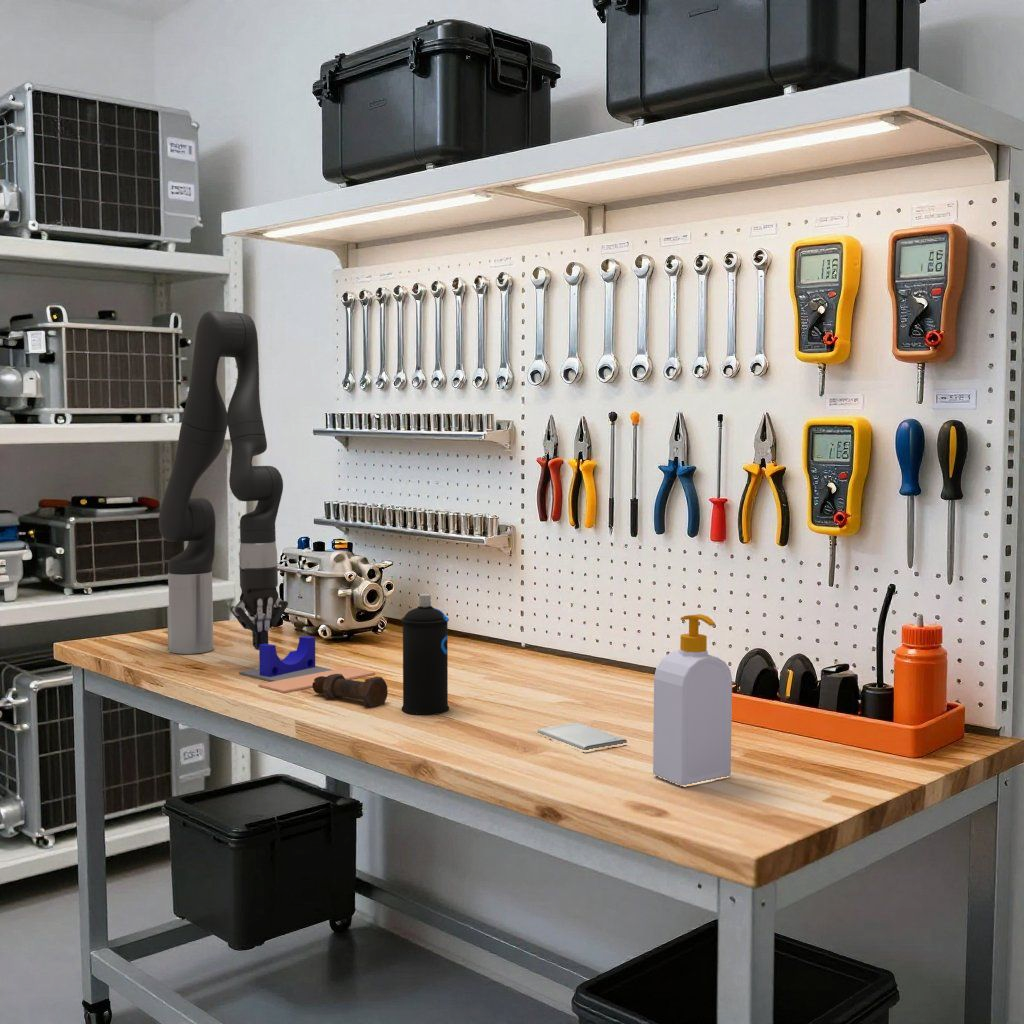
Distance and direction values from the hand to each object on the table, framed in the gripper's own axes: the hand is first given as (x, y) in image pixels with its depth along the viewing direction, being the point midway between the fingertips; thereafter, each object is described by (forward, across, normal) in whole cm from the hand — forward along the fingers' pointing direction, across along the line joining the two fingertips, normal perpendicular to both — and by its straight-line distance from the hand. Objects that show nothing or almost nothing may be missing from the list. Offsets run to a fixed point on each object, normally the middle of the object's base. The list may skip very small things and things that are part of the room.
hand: (260, 649), depth 234 cm
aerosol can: (+5, +2, +50) cm, 51 cm away
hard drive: (+6, -1, +83) cm, 83 cm away
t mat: (+4, 0, +12) cm, 13 cm away
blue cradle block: (+4, 0, +8) cm, 9 cm away
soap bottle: (+6, +4, +106) cm, 107 cm away
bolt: (+5, +6, +35) cm, 36 cm away
